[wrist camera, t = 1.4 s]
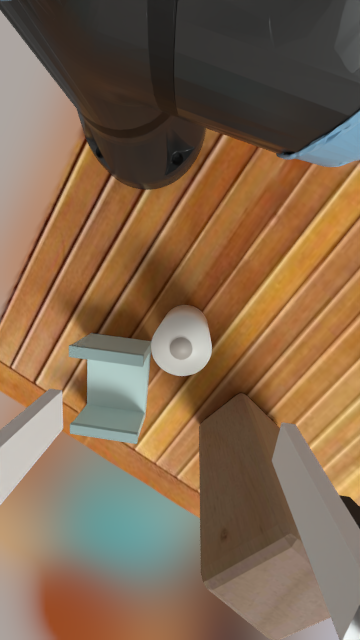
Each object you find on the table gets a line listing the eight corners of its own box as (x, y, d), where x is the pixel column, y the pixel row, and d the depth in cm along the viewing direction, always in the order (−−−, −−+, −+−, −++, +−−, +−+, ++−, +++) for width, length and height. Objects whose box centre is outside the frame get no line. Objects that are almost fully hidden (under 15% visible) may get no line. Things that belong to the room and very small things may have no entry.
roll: (165, 302, 33) (153, 315, 24) (211, 307, 33) (216, 323, 24) (160, 345, 35) (148, 372, 26) (204, 351, 35) (207, 380, 26)
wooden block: (196, 423, 38) (196, 588, 18) (241, 387, 36) (293, 533, 16) (235, 459, 39) (274, 650, 20) (281, 427, 37) (375, 607, 17)
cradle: (90, 332, 35) (68, 345, 29) (152, 341, 35) (143, 356, 29) (89, 408, 39) (70, 433, 33) (145, 416, 38) (136, 443, 32)
